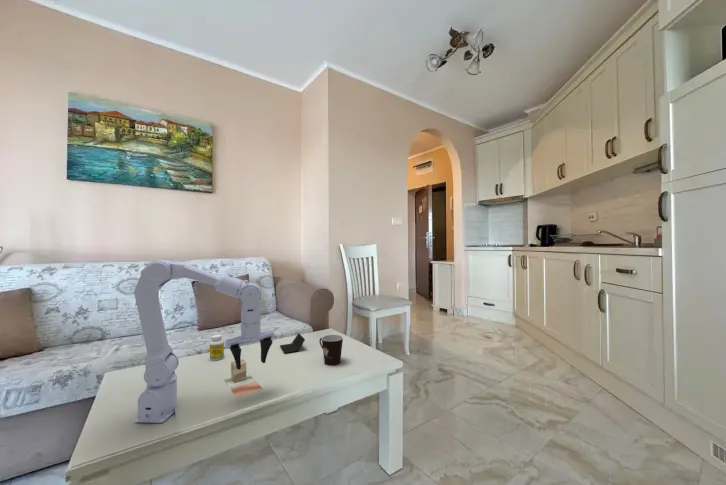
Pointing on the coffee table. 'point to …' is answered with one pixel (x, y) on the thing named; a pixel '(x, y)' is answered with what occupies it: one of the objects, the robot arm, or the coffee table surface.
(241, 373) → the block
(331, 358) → the coffee mug
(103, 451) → the coffee table surface
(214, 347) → the supplement bottle
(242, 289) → the robot arm
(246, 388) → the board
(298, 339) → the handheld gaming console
